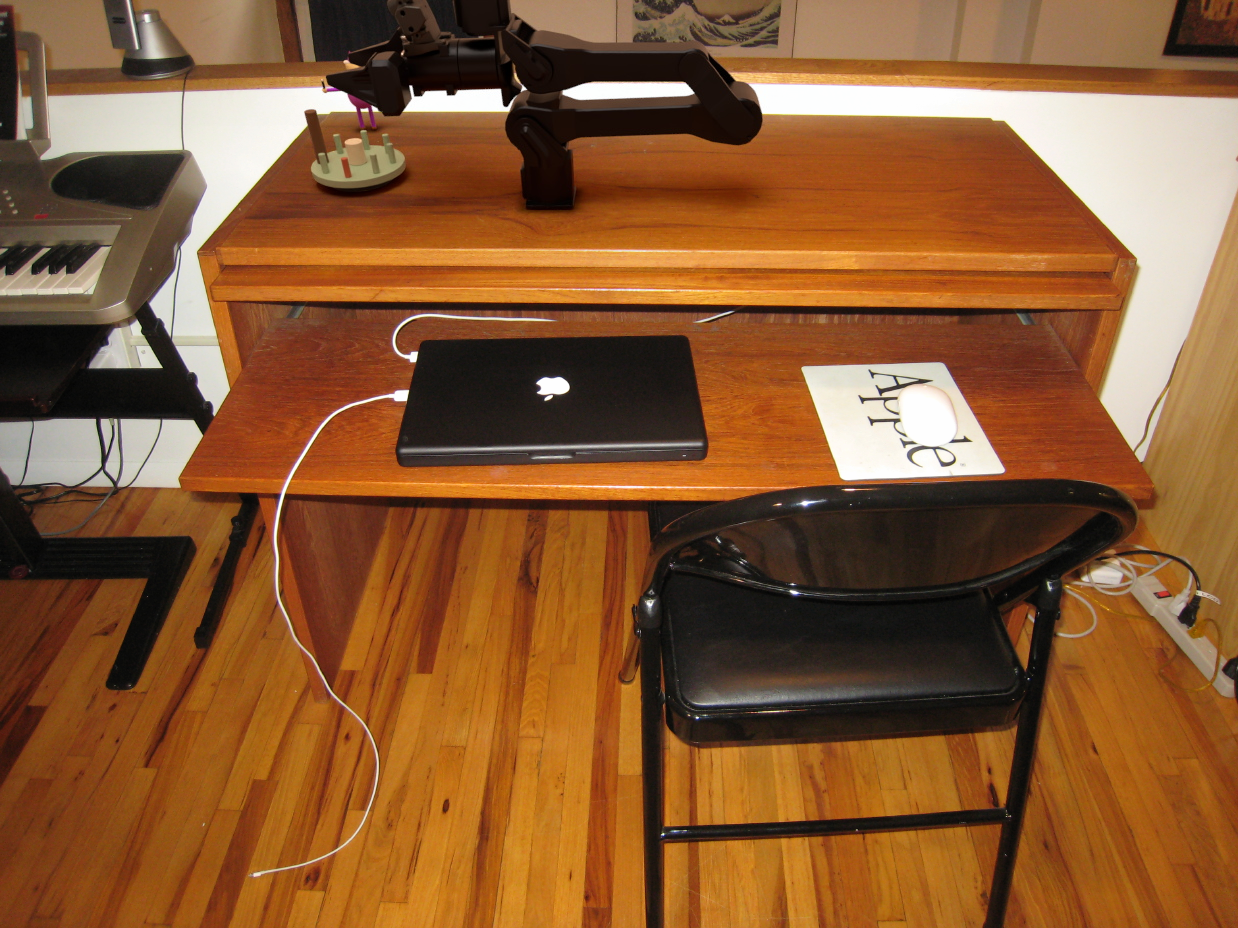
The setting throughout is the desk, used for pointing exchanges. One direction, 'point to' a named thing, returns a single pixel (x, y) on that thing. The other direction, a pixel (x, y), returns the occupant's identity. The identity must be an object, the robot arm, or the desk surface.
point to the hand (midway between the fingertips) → (338, 68)
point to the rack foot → (363, 187)
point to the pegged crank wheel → (352, 159)
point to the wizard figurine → (355, 100)
